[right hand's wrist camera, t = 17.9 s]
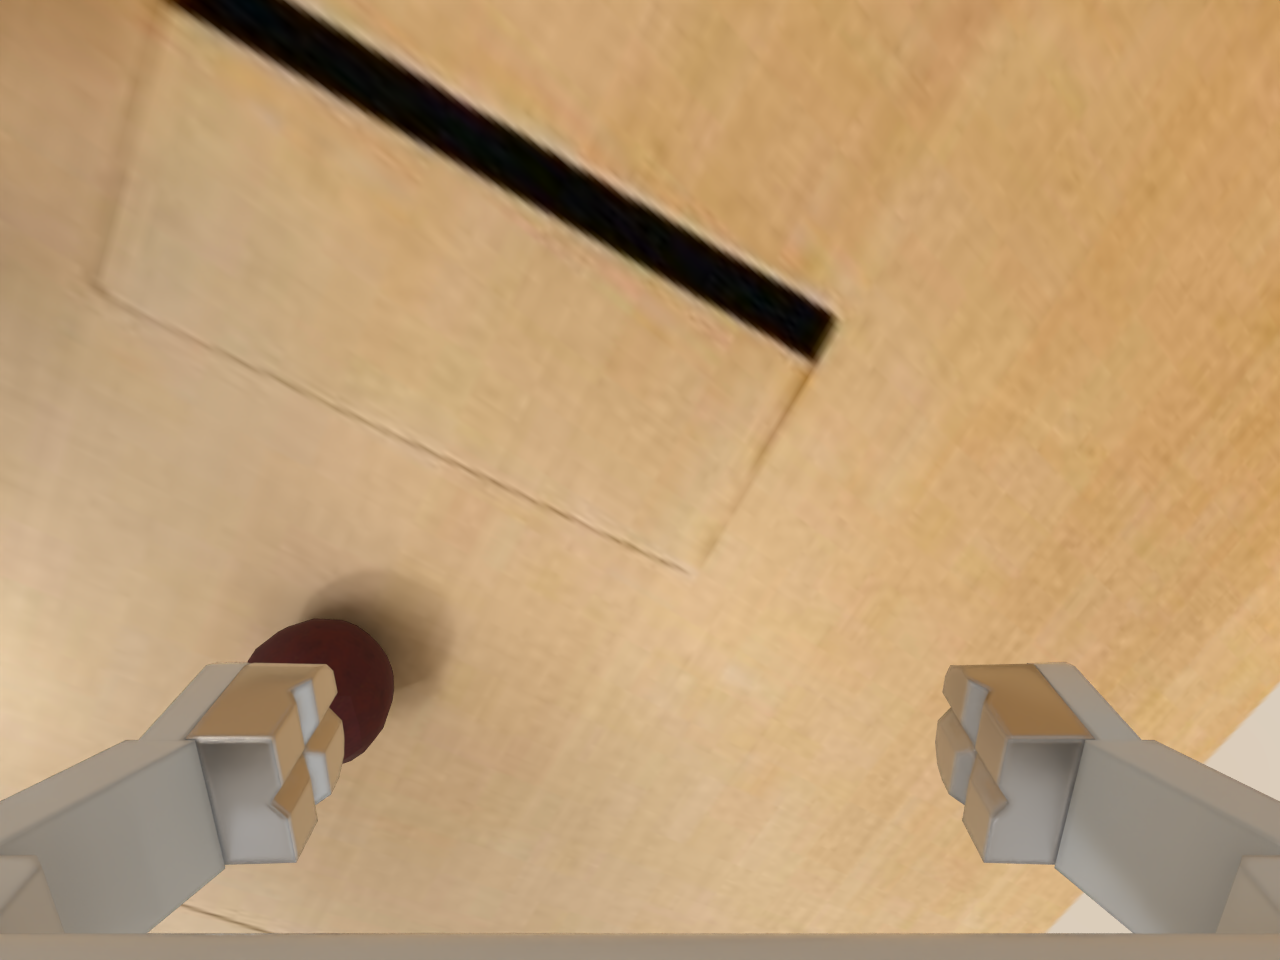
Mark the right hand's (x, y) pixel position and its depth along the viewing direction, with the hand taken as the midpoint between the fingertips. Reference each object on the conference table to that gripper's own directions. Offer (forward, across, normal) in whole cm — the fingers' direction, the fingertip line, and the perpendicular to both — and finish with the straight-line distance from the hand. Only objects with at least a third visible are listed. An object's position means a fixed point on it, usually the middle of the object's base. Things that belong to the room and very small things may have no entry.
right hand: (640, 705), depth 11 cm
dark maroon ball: (+29, -17, -18) cm, 38 cm away
